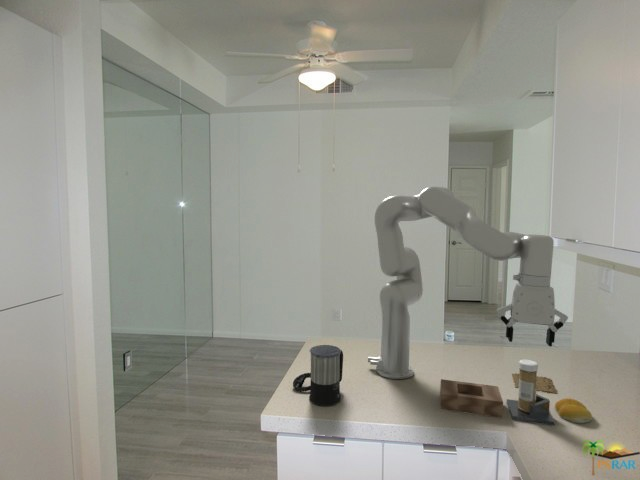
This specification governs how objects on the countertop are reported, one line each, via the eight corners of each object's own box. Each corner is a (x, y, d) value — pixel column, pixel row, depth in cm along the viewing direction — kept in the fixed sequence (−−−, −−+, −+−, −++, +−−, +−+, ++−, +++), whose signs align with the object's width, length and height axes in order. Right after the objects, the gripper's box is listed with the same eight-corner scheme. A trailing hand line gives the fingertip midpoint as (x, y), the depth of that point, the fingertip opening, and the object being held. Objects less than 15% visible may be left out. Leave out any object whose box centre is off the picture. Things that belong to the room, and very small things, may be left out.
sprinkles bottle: (539, 410, 112) (541, 362, 111) (529, 415, 109) (531, 366, 108) (523, 403, 116) (525, 357, 115) (513, 408, 113) (515, 360, 112)
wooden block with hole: (440, 409, 114) (441, 393, 114) (440, 393, 124) (440, 379, 123) (502, 418, 110) (503, 401, 109) (497, 401, 119) (497, 386, 119)
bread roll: (562, 422, 108) (563, 408, 108) (551, 406, 117) (552, 393, 116) (597, 427, 106) (598, 412, 106) (583, 410, 115) (584, 396, 115)
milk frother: (337, 408, 114) (338, 357, 112) (283, 402, 117) (283, 352, 116) (345, 386, 127) (346, 340, 126) (296, 381, 131) (297, 336, 130)
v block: (512, 420, 109) (513, 403, 108) (506, 401, 119) (507, 387, 118) (554, 426, 106) (555, 409, 106) (544, 407, 116) (545, 391, 116)
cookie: (510, 374, 140) (511, 371, 140) (550, 380, 135) (551, 377, 135) (514, 389, 128) (514, 386, 128) (558, 395, 124) (558, 392, 124)
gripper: (501, 280, 108) (496, 343, 110) (575, 286, 104) (569, 351, 105) (497, 275, 115) (493, 334, 117) (566, 281, 111) (560, 342, 112)
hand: (529, 342), depth 111 cm, fingers open, 9 cm apart
